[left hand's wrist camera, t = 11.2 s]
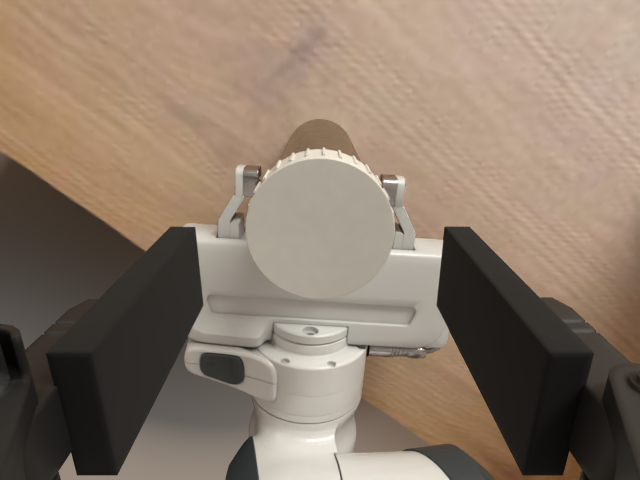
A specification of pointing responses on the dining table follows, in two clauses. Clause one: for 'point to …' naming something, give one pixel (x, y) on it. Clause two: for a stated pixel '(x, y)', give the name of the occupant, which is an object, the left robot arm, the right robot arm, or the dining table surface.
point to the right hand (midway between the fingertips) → (320, 171)
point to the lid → (319, 224)
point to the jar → (319, 138)
